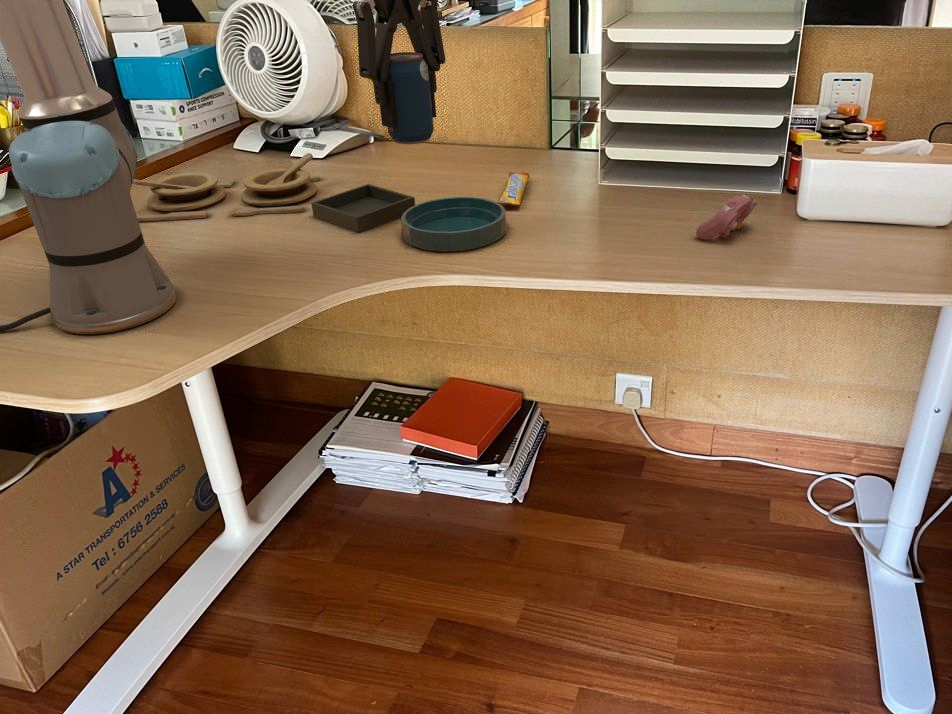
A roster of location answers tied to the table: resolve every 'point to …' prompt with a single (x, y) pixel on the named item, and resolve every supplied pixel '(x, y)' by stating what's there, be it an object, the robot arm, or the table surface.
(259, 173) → the tableware set
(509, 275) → the table surface
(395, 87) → the soda can
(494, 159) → the table surface
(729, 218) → the mauve toy shoe
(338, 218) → the tray
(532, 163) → the table surface
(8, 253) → the table surface
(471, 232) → the teal round dish
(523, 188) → the candy bar
